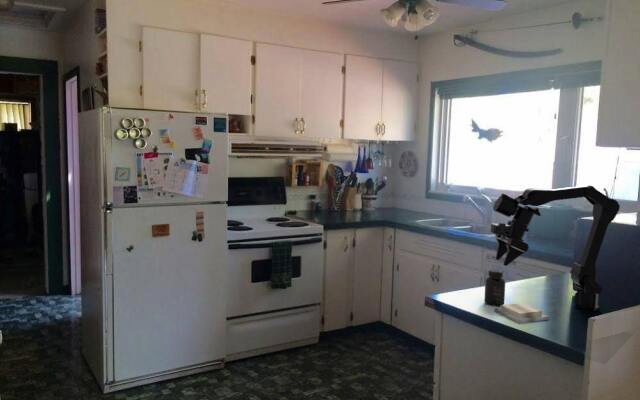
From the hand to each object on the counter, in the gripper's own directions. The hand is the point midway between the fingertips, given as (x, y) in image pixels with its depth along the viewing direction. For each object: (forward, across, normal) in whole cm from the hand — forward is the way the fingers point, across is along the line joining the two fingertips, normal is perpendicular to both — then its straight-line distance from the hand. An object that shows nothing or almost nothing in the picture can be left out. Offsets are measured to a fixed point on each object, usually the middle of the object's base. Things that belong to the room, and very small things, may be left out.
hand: (500, 262), depth 182 cm
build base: (+12, +12, +10) cm, 20 cm away
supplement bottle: (+15, -1, +5) cm, 16 cm away
